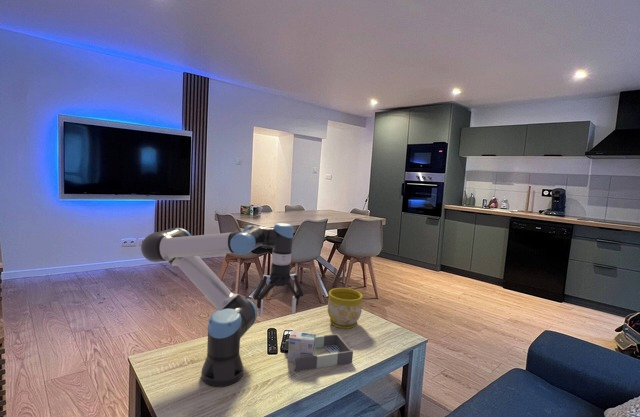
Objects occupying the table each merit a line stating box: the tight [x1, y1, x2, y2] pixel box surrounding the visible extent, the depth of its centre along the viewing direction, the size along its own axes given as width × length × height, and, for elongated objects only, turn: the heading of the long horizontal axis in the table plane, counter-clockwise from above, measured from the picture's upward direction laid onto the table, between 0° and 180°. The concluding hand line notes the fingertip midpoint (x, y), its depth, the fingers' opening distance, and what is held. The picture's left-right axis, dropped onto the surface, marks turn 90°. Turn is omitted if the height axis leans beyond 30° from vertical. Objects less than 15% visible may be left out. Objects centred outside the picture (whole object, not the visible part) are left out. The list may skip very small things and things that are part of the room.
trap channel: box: [284, 333, 354, 372], centre depth 142 cm, size 25×16×5 cm, turn 111°
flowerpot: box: [327, 287, 364, 330], centre depth 174 cm, size 18×18×16 cm
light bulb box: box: [287, 330, 317, 363], centre depth 139 cm, size 11×7×11 cm, turn 84°
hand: (277, 314), depth 133 cm, fingers open, 13 cm apart
